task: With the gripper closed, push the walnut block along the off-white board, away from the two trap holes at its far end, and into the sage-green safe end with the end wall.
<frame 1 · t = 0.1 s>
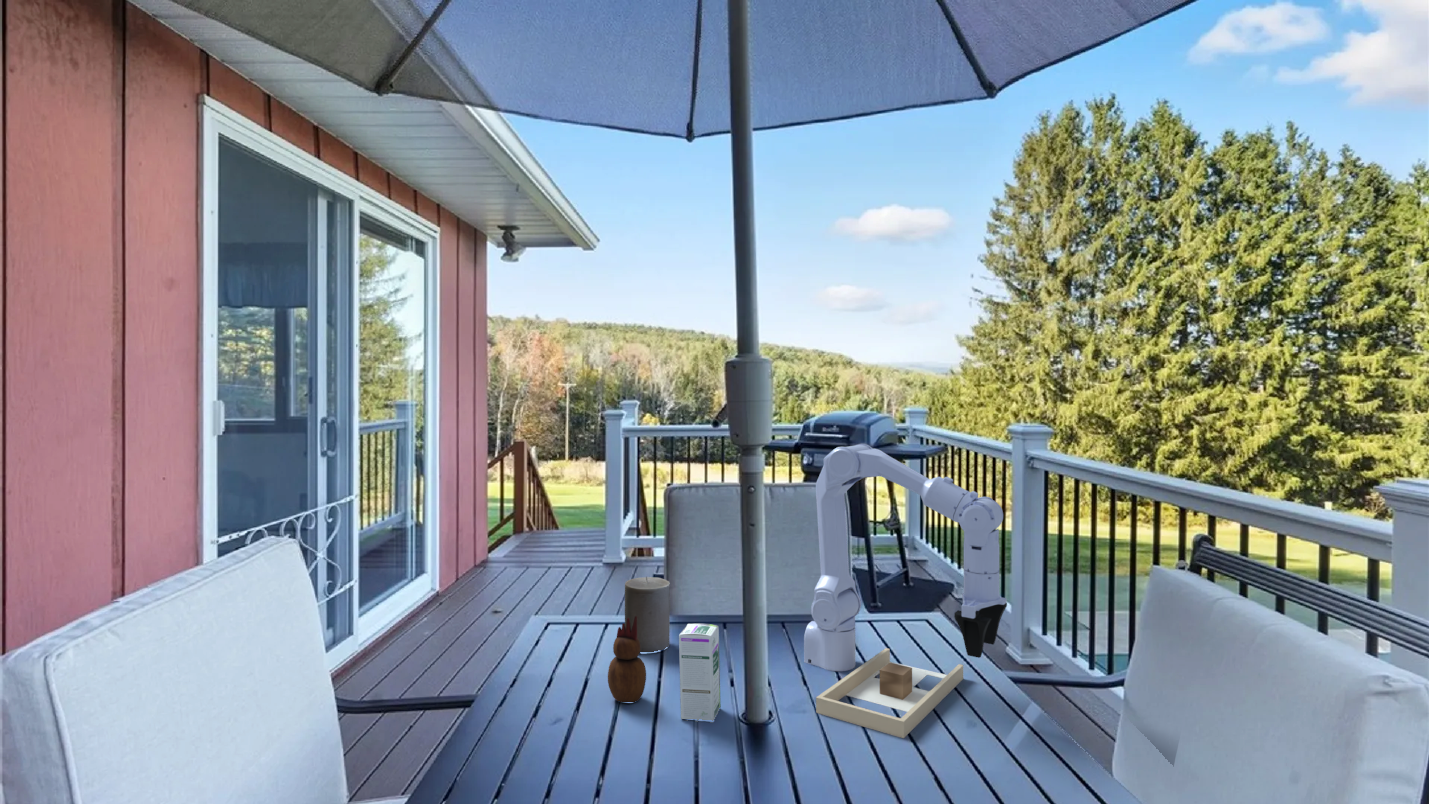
hand: (981, 649, 124), 10 cm above the table, tool pointing down, fingers open, 7 cm apart
syrup box: (700, 715, 122), on the table
wooden figurine: (627, 700, 128), on the table
walnut block: (895, 692, 127), point 1 cm above the table, touching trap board
pillar candle: (647, 647, 155), on the table
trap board: (893, 703, 126), on the table
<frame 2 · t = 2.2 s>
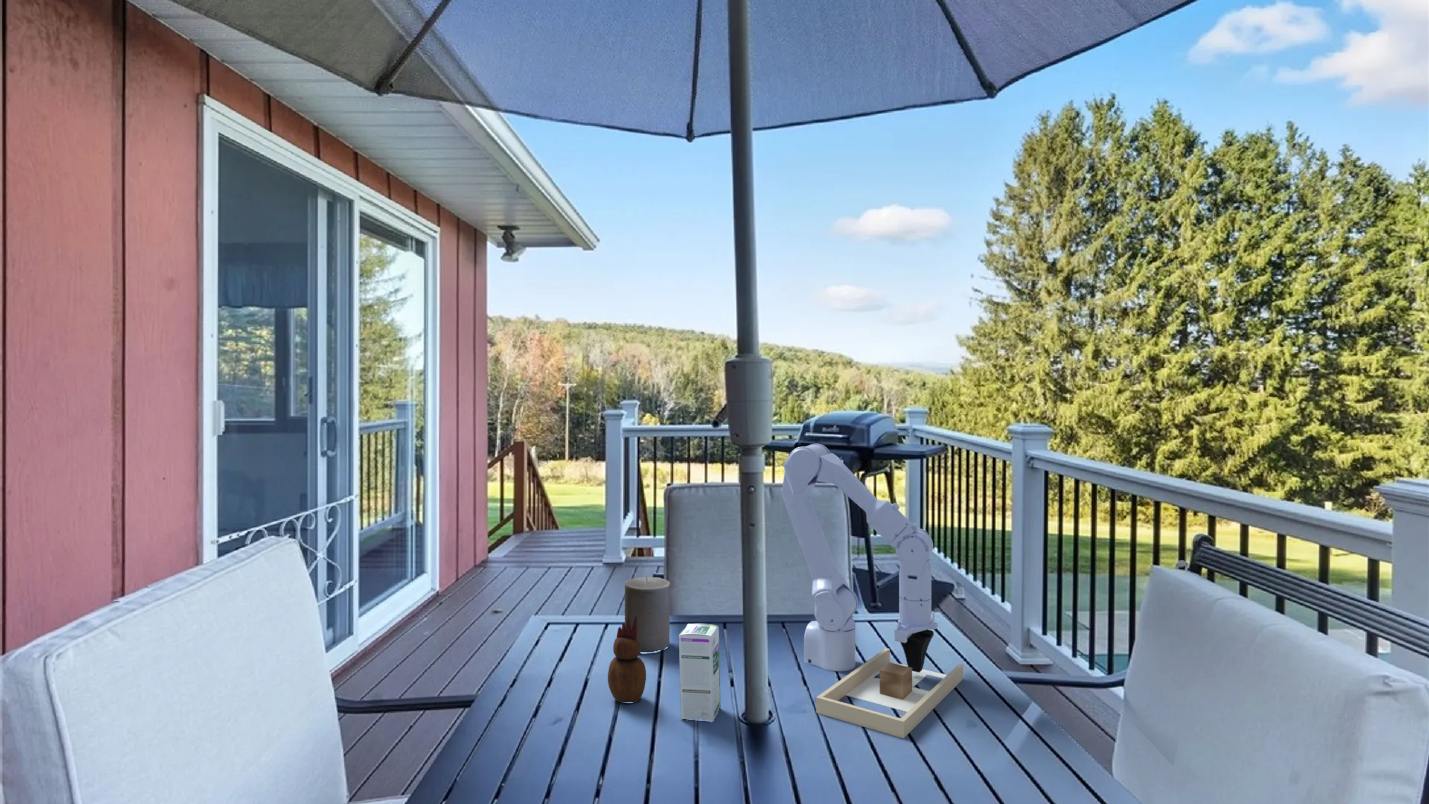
hand: (915, 670, 134), 3 cm above the table, tool pointing down, fingers closed
nothing on the table moved.
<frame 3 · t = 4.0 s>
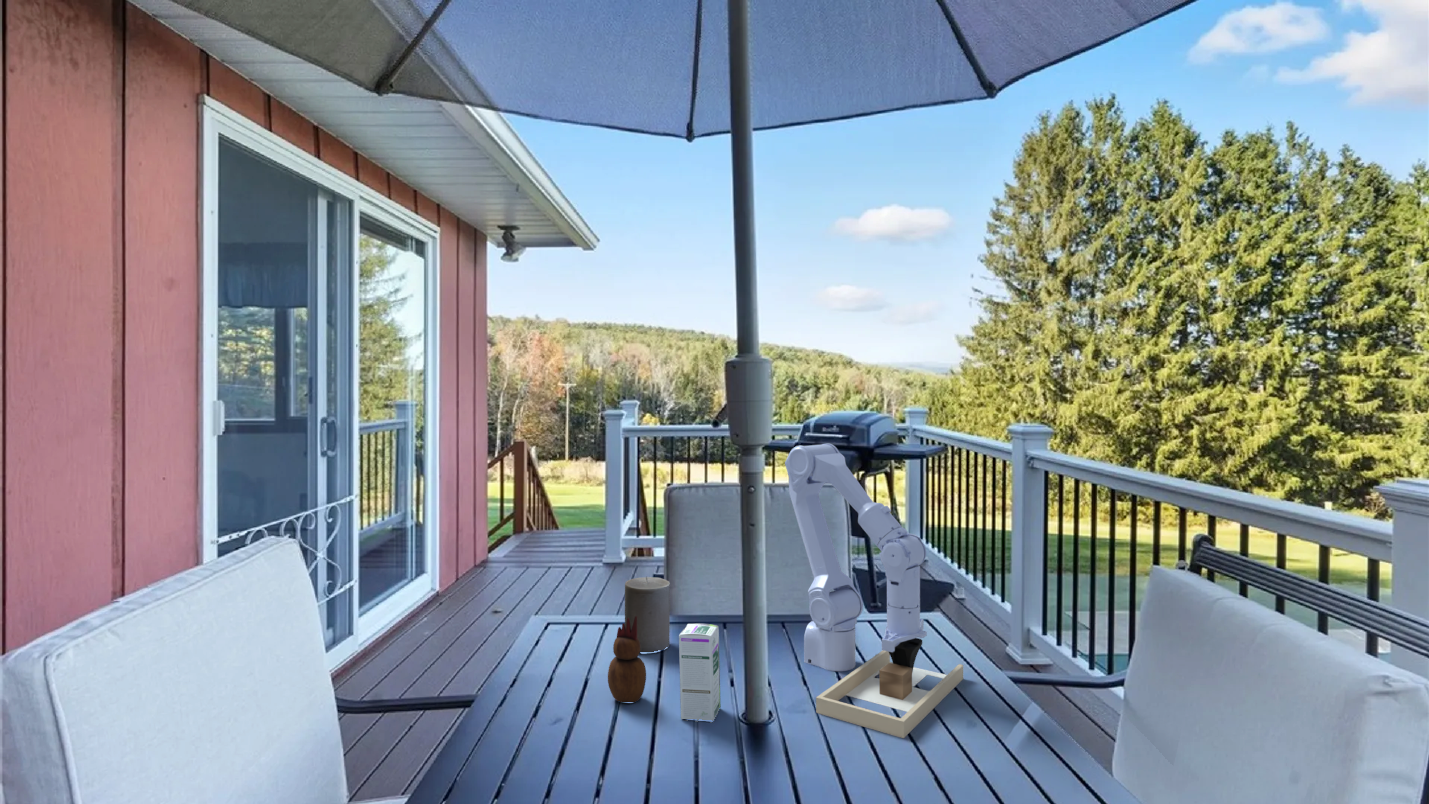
hand: (903, 680, 129), 3 cm above the table, tool pointing down, fingers closed
walnut block: (895, 692, 127), point 2 cm above the table, touching gripper, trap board
everything else where it was.
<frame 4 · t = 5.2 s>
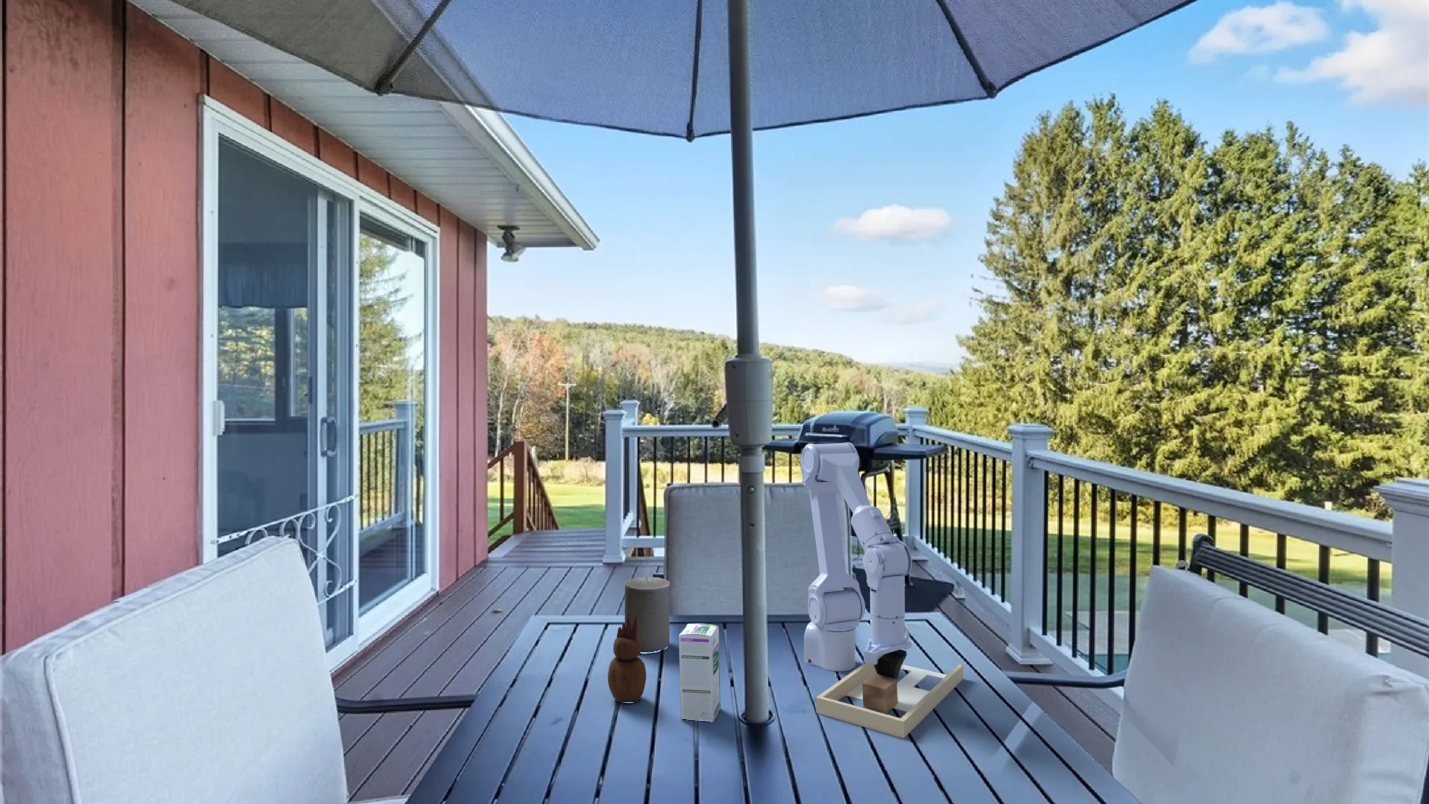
hand: (887, 693, 124), 3 cm above the table, tool pointing down, fingers closed, pressing on walnut block
walnut block: (880, 705, 122), point 2 cm above the table, tilted 5°, touching gripper, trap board
everything else where it was.
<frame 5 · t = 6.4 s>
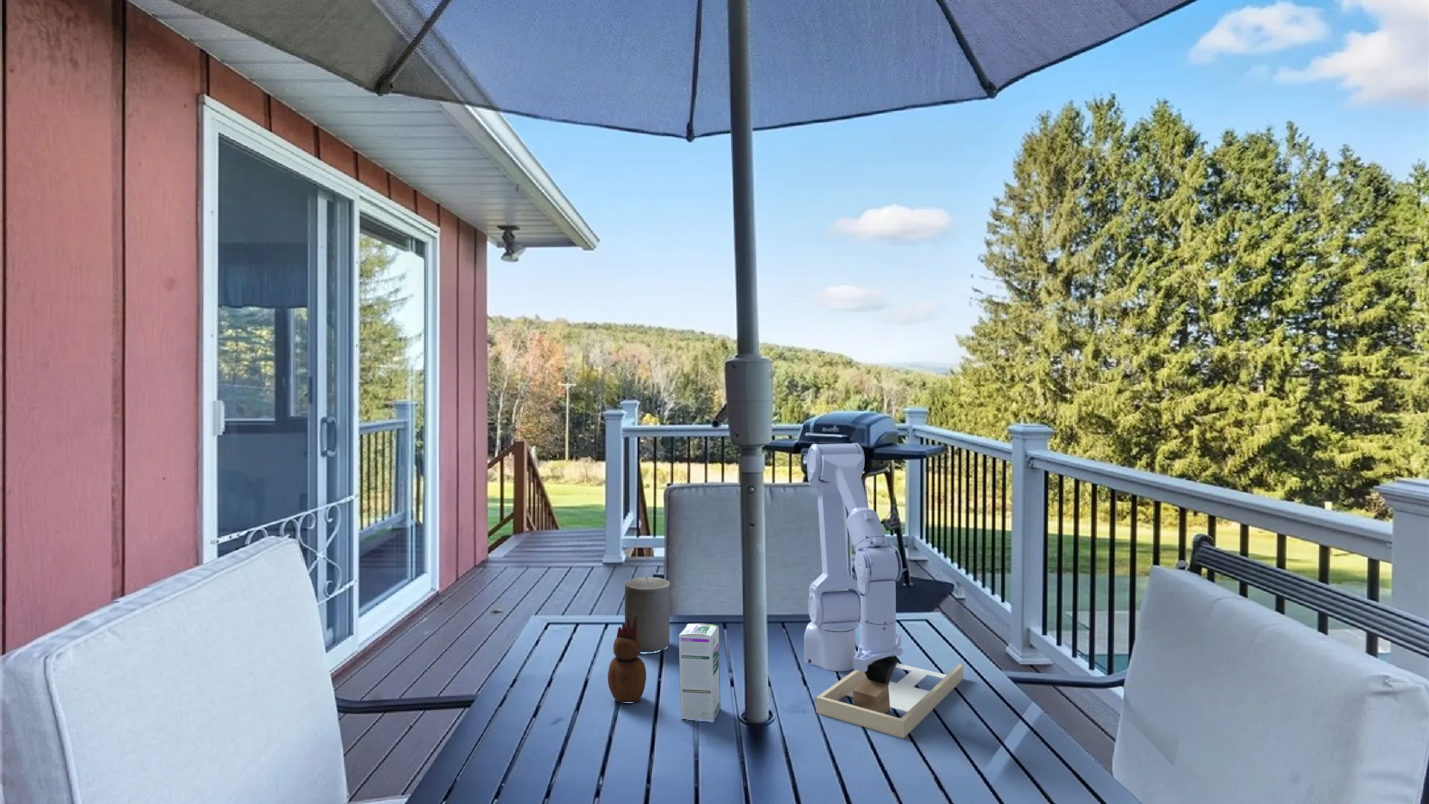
hand: (878, 700, 121), 3 cm above the table, tool pointing down, fingers closed, pressing on walnut block
walnut block: (872, 711, 119), point 2 cm above the table, tilted 9°, touching gripper, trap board
everything else where it was.
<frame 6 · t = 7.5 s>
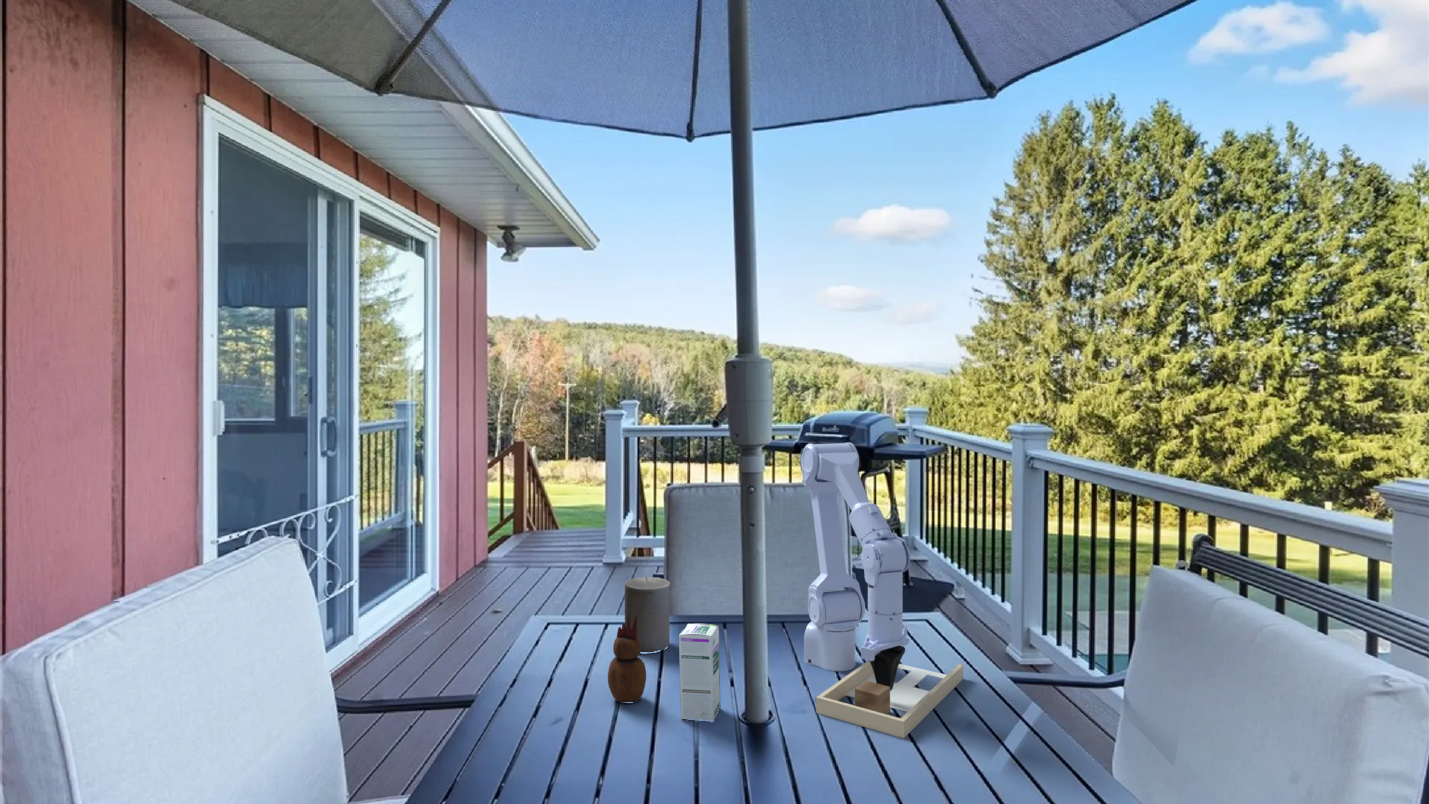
hand: (885, 689, 123), 4 cm above the table, tool pointing down, fingers closed
walnut block: (872, 713, 119), point 1 cm above the table, touching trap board
everything else where it was.
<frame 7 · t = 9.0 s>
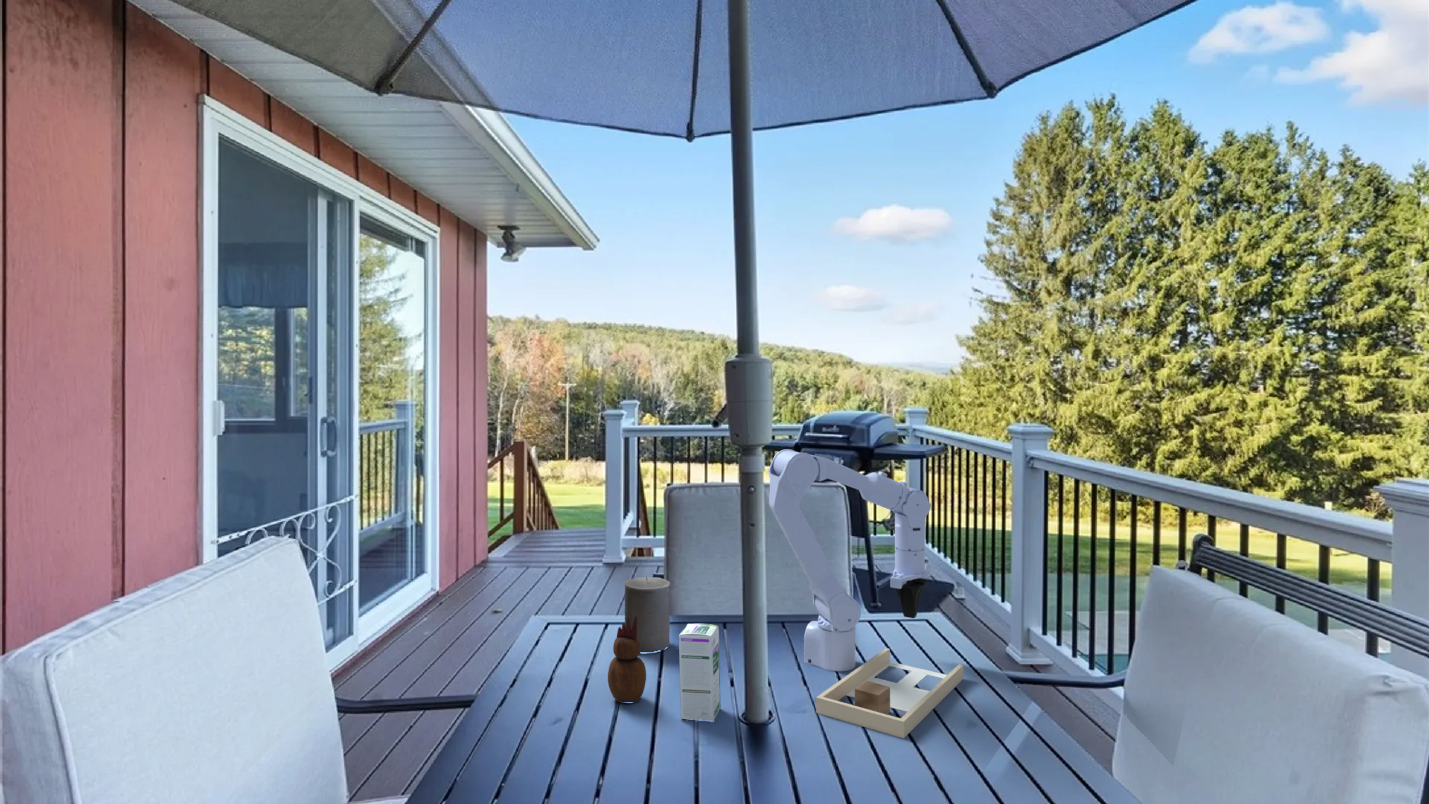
hand: (910, 616, 144), 9 cm above the table, tool pointing down, fingers closed
nothing on the table moved.
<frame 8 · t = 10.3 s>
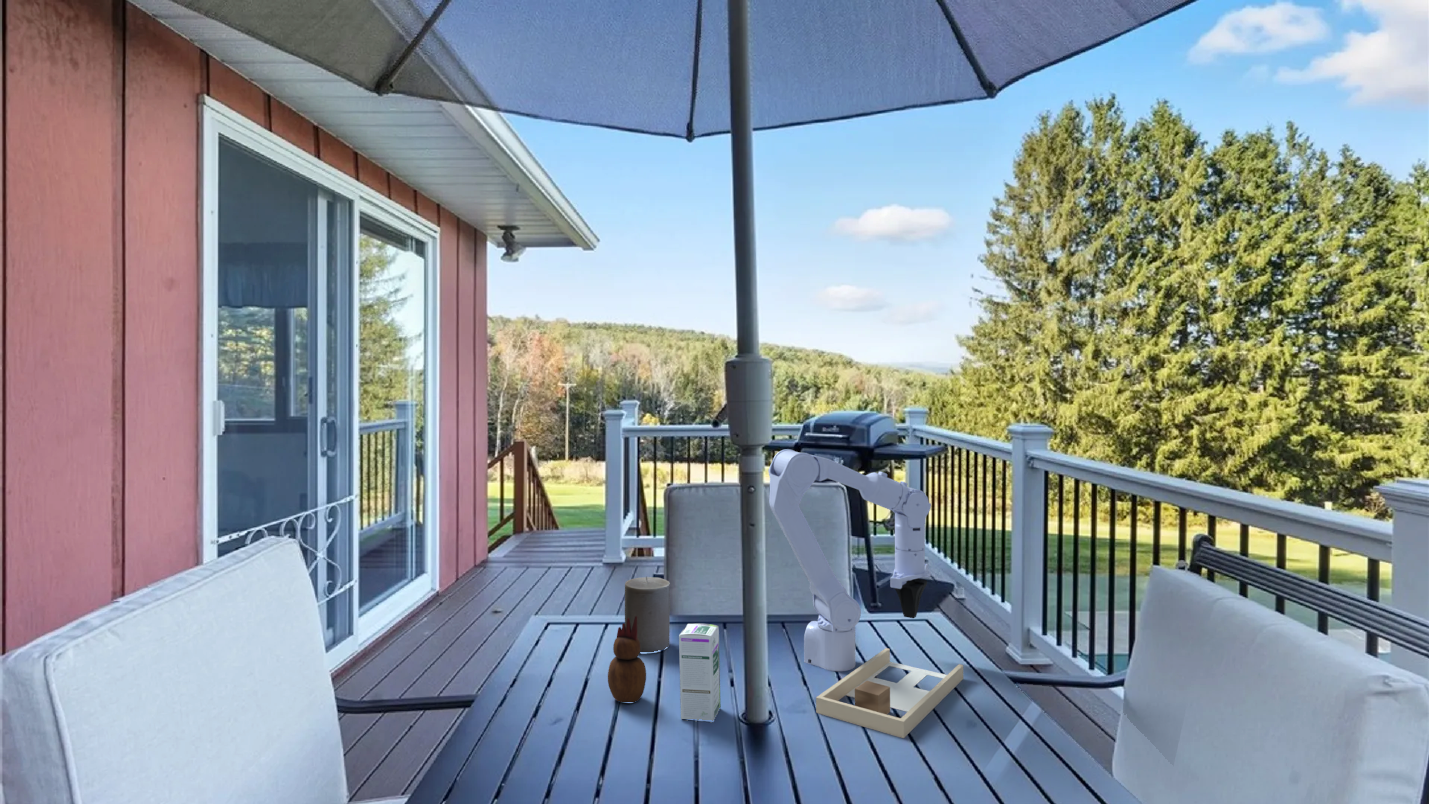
hand: (909, 616, 144), 9 cm above the table, tool pointing down, fingers closed
nothing on the table moved.
at the end: walnut block 0.8 cm from the target spot on the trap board, point 1.4 cm above the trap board's base; walnut block tilted 0°; walnut block touching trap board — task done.
